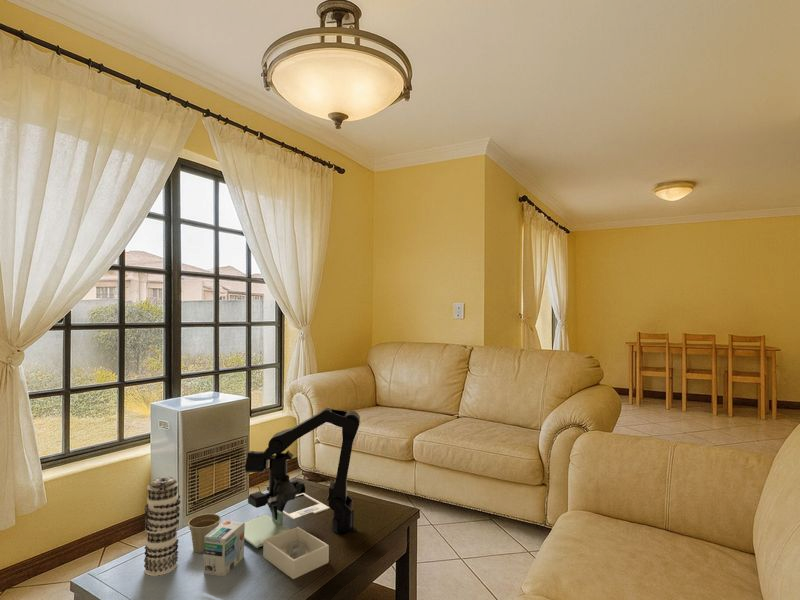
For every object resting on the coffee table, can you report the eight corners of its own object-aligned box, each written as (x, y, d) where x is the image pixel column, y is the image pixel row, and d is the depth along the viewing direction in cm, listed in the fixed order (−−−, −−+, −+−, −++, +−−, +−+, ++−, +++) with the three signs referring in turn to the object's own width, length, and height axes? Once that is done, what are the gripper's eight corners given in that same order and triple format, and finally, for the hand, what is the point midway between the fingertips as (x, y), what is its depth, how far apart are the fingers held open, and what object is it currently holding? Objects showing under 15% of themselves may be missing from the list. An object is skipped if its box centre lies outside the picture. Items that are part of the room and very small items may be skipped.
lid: (266, 518, 160) (265, 502, 160) (292, 535, 149) (292, 518, 149) (231, 531, 151) (231, 515, 151) (256, 550, 140) (256, 532, 140)
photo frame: (295, 518, 162) (270, 502, 175) (294, 522, 162) (269, 505, 175) (329, 506, 172) (303, 492, 185) (329, 509, 172) (303, 495, 185)
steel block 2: (294, 561, 135) (294, 552, 135) (305, 564, 134) (305, 555, 134) (285, 567, 132) (285, 559, 132) (296, 571, 130) (297, 562, 130)
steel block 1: (297, 548, 142) (297, 539, 142) (305, 553, 140) (305, 544, 140) (286, 552, 140) (286, 544, 140) (293, 558, 137) (293, 549, 137)
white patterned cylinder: (186, 561, 135) (188, 475, 136) (163, 579, 126) (165, 487, 127) (159, 556, 138) (161, 472, 138) (135, 574, 128) (137, 483, 129)
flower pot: (195, 560, 136) (196, 530, 136) (182, 548, 142) (182, 520, 143) (225, 548, 143) (226, 520, 143) (211, 537, 149) (212, 510, 149)
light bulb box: (224, 578, 127) (225, 539, 127) (202, 575, 128) (203, 536, 129) (245, 558, 137) (245, 521, 138) (224, 555, 139) (225, 519, 139)
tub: (297, 544, 146) (298, 526, 146) (328, 564, 135) (328, 545, 135) (263, 558, 137) (263, 540, 137) (293, 581, 126) (293, 561, 126)
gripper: (265, 486, 142) (264, 537, 142) (315, 471, 156) (314, 518, 155) (247, 476, 150) (246, 525, 150) (296, 463, 163) (296, 507, 163)
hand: (277, 519), depth 154 cm, fingers closed on lid
